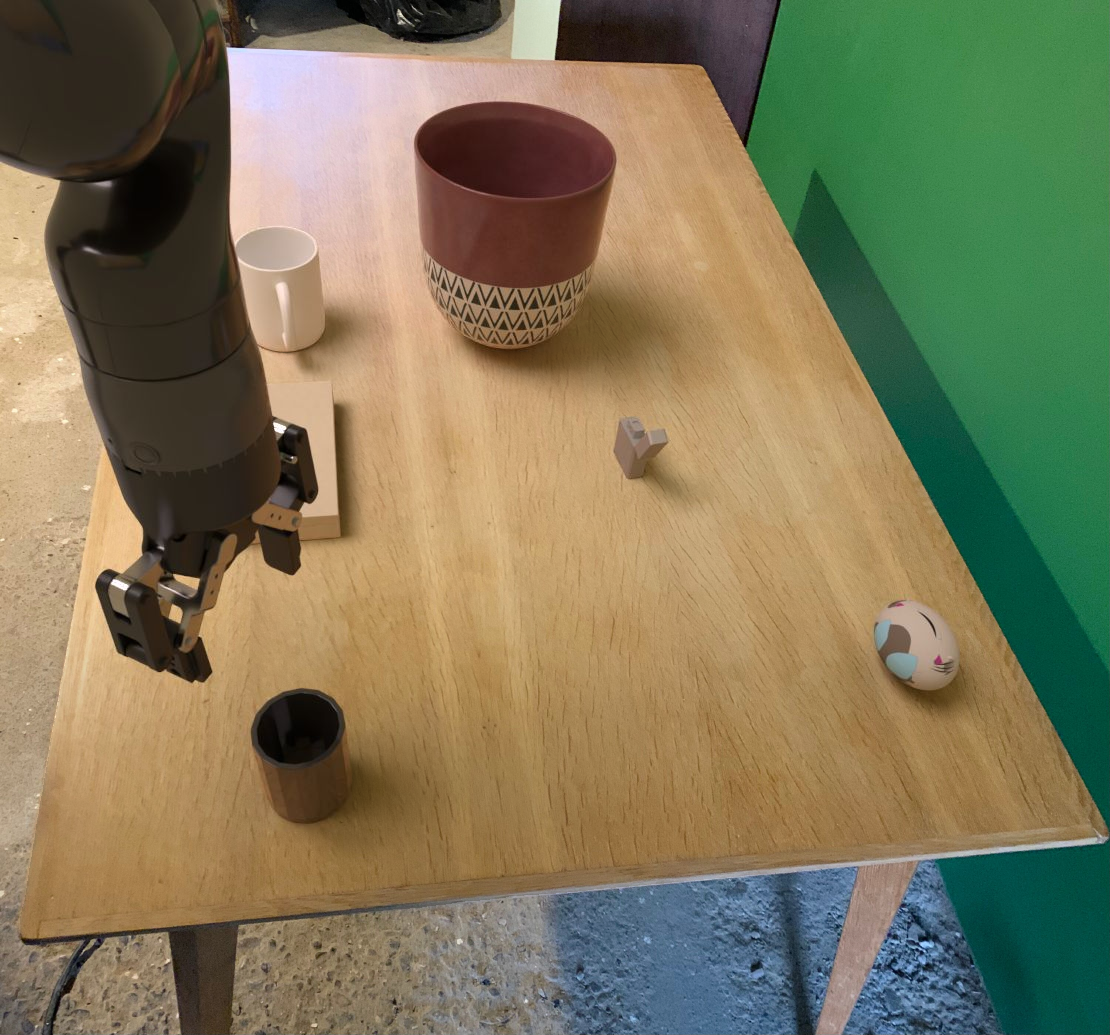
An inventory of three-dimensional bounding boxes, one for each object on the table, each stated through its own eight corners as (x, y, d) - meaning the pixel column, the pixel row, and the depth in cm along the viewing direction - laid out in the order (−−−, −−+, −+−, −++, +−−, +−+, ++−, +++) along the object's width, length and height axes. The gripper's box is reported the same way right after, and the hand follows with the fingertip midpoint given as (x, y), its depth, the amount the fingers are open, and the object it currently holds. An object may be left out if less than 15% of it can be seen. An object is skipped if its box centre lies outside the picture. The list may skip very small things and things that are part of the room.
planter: (400, 287, 110) (395, 105, 94) (558, 272, 115) (579, 96, 100) (438, 395, 98) (440, 207, 82) (613, 372, 103) (646, 191, 88)
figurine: (845, 639, 82) (872, 591, 77) (903, 624, 84) (932, 577, 79) (895, 717, 77) (927, 672, 72) (955, 701, 79) (990, 655, 74)
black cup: (318, 838, 66) (307, 785, 60) (248, 798, 67) (231, 742, 61) (368, 770, 69) (362, 713, 64) (301, 732, 71) (290, 674, 65)
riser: (340, 537, 84) (338, 514, 82) (173, 549, 81) (166, 526, 79) (334, 403, 96) (331, 380, 93) (188, 410, 93) (182, 386, 91)
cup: (320, 303, 106) (312, 222, 99) (336, 371, 99) (328, 288, 91) (243, 310, 104) (229, 228, 97) (254, 380, 97) (239, 296, 89)
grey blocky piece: (612, 450, 95) (624, 389, 89) (628, 447, 95) (641, 386, 90) (638, 500, 91) (652, 439, 85) (654, 497, 91) (670, 437, 85)
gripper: (215, 305, 49) (260, 516, 61) (0, 478, 40) (102, 685, 52) (340, 351, 47) (361, 558, 59) (146, 542, 38) (217, 741, 50)
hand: (240, 617), depth 55 cm, fingers open, 8 cm apart
